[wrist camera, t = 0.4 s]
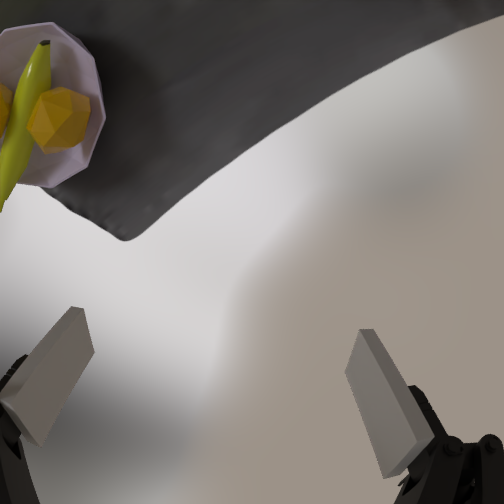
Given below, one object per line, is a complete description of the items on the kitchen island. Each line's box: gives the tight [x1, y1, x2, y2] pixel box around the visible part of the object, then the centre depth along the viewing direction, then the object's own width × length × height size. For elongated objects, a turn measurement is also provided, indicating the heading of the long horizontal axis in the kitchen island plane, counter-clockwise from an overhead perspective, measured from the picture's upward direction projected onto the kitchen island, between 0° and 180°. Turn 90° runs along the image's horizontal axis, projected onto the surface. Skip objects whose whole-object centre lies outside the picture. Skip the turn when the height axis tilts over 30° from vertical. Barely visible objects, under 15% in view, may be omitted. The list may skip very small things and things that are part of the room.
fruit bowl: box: [0, 22, 106, 212], centre depth 26 cm, size 28×27×11 cm
